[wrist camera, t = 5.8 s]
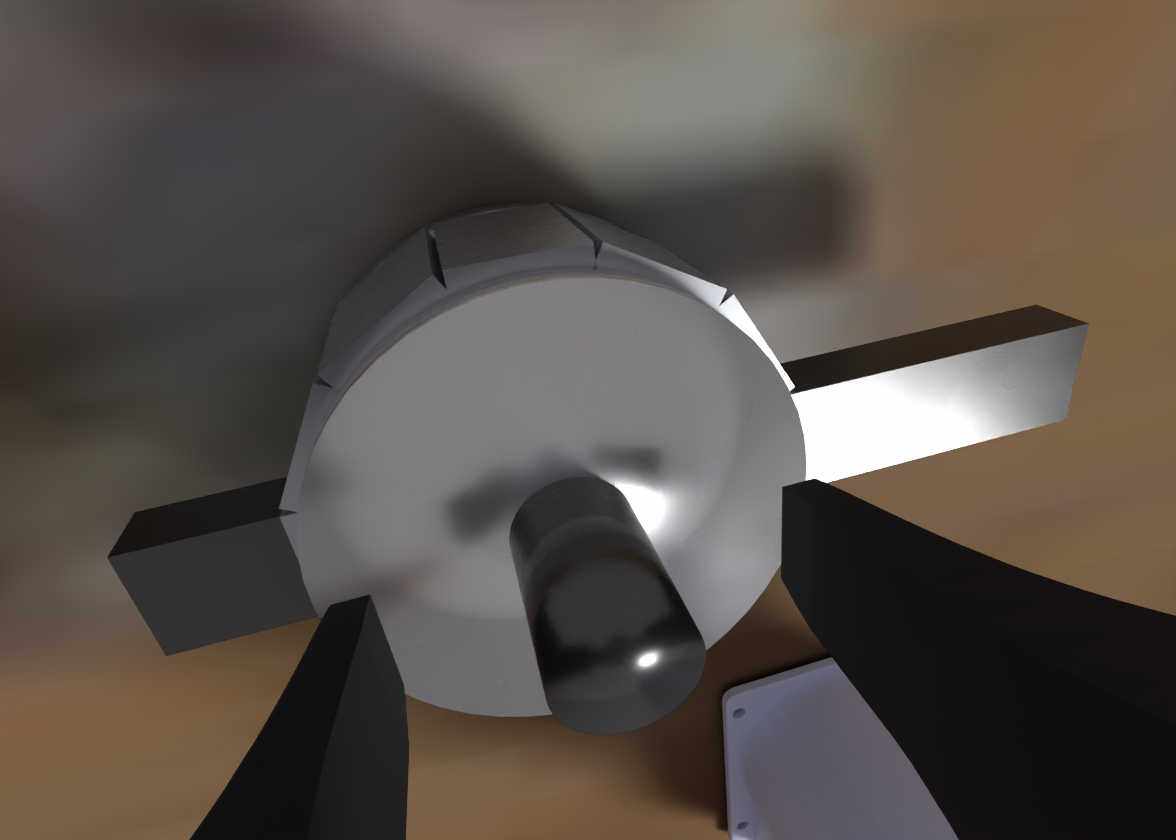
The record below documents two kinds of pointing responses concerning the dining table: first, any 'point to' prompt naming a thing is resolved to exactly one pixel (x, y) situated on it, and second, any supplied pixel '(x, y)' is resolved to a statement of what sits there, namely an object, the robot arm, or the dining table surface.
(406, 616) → the lid
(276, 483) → the pot
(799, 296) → the dining table surface
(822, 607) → the robot arm
